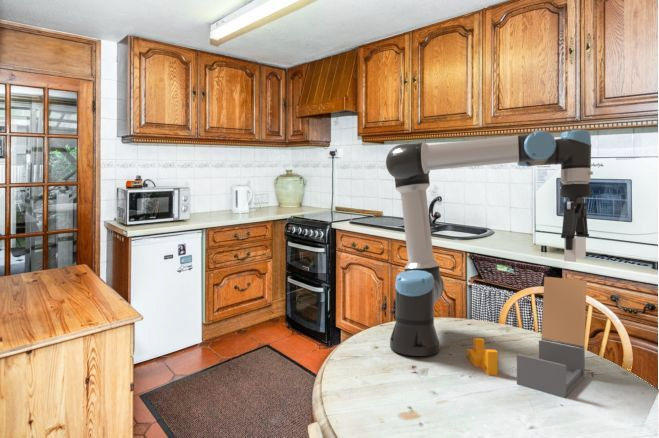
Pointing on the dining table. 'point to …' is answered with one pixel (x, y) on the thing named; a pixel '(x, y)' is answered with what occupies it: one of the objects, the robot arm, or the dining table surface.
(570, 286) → the tan rectangular panel
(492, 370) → the pipe clamp
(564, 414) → the dining table surface
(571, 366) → the housing
